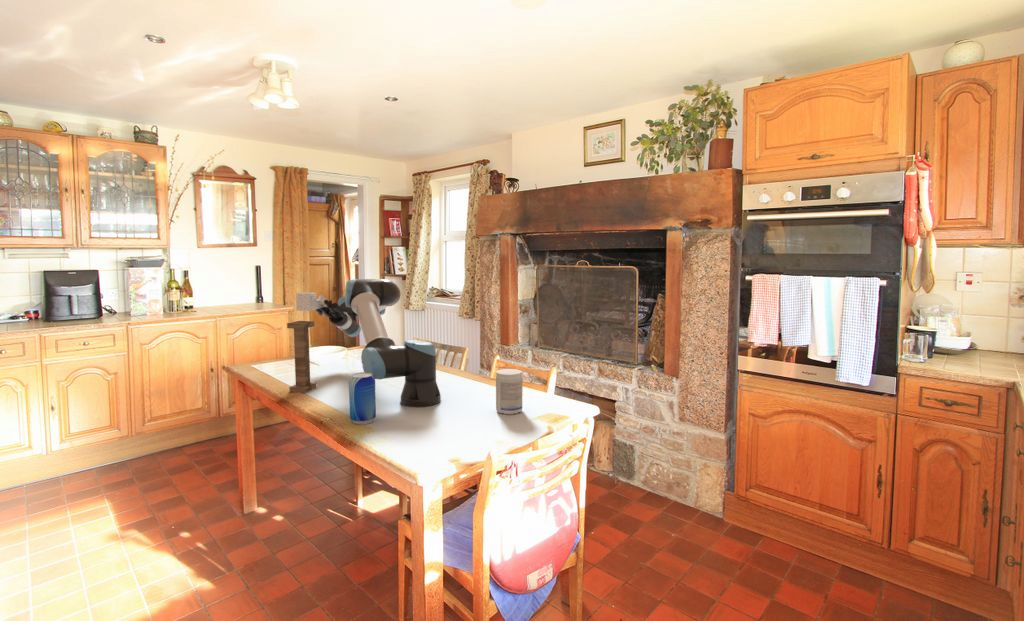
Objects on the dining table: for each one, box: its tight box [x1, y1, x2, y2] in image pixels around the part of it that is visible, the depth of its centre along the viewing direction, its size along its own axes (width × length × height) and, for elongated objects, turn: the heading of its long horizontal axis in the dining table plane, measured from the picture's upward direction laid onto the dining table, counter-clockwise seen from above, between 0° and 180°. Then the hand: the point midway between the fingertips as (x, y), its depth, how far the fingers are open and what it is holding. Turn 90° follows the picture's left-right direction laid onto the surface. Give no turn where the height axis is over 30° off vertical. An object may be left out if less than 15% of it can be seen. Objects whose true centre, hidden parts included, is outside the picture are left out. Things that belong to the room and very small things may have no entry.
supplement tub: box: [495, 368, 523, 415], centre depth 185 cm, size 10×10×15 cm
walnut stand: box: [286, 320, 317, 394], centre depth 209 cm, size 8×7×28 cm
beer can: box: [348, 372, 377, 425], centre depth 172 cm, size 8×8×16 cm
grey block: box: [295, 292, 329, 312], centre depth 217 cm, size 16×6×7 cm, turn 169°
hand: (315, 297), depth 217 cm, fingers closed on grey block, 3 cm apart
